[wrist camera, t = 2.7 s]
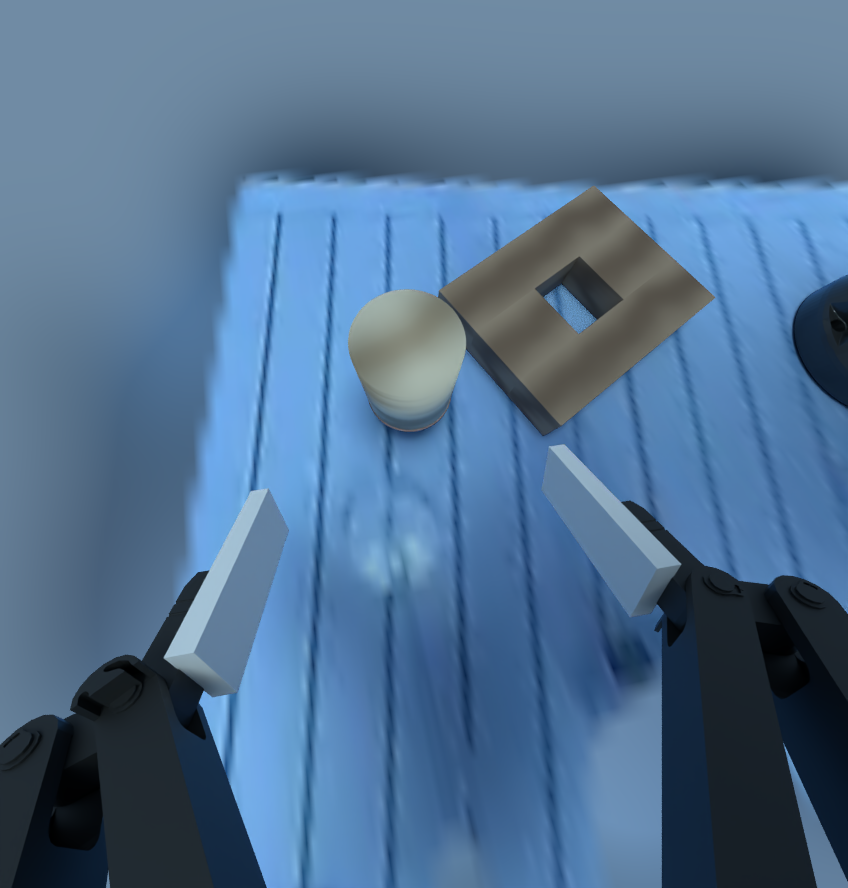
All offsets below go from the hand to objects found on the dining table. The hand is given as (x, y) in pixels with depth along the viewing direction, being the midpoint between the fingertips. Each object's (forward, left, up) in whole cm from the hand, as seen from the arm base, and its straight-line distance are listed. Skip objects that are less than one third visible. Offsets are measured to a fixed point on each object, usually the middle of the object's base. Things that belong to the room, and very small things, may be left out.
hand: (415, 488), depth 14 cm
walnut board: (+5, -23, -12) cm, 27 cm away
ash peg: (+7, -5, -12) cm, 15 cm away
